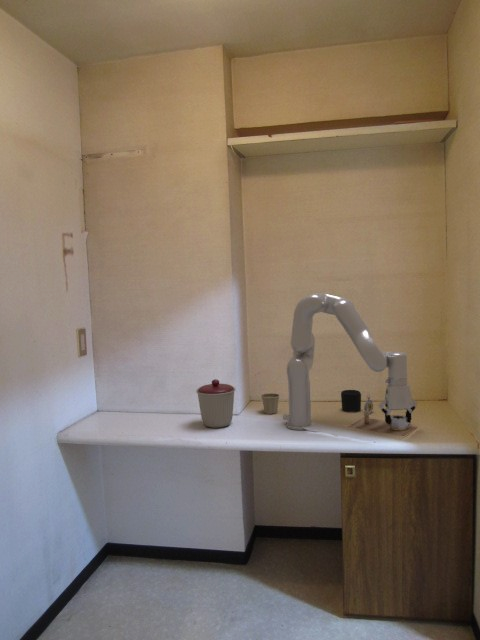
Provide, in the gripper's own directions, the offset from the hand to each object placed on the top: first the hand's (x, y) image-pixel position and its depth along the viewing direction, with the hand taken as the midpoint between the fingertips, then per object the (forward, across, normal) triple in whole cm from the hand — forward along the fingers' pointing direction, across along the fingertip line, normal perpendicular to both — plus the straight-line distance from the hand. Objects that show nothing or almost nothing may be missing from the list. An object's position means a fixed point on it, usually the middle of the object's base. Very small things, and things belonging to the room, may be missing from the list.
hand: (398, 422), depth 204 cm
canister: (+4, -74, +30) cm, 79 cm away
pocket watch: (+4, -1, +23) cm, 23 cm away
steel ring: (+2, 0, 0) cm, 2 cm away
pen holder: (+4, -8, +32) cm, 34 cm away
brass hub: (+3, 0, 0) cm, 3 cm away
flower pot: (+4, -46, +43) cm, 63 cm away
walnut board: (+4, -5, +5) cm, 8 cm away
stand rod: (+3, -10, +10) cm, 14 cm away
